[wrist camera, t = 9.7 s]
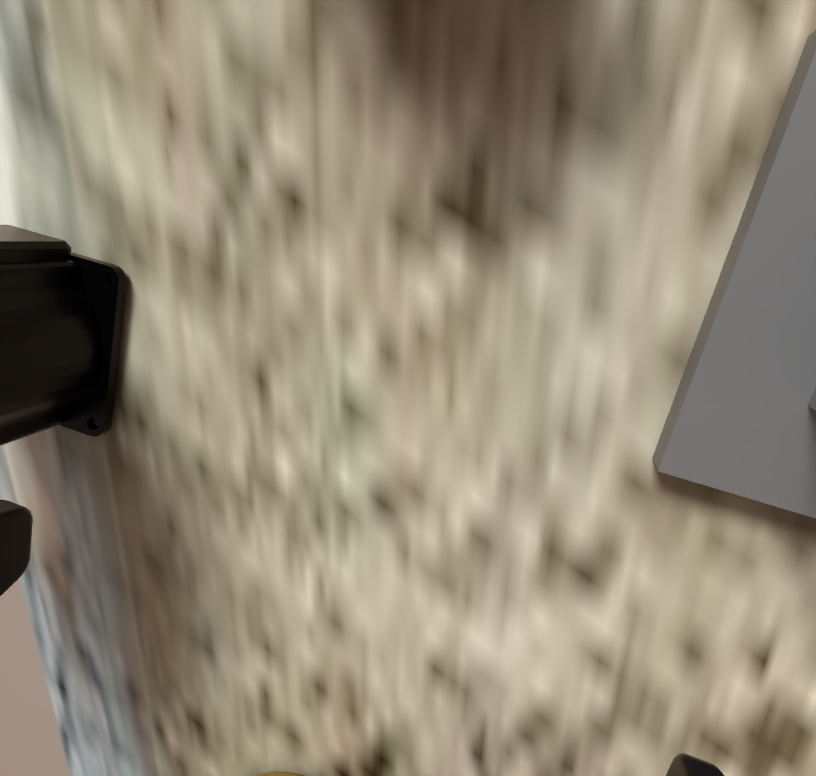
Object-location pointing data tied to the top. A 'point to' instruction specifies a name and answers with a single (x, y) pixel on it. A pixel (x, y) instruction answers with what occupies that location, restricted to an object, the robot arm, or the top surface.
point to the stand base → (760, 334)
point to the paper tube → (279, 774)
